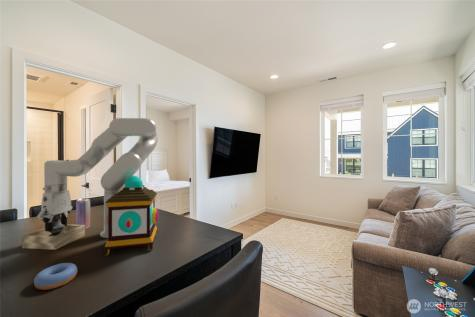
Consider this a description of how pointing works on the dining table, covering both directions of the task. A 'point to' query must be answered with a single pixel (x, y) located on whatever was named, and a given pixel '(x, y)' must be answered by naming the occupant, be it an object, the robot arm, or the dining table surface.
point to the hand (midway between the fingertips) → (56, 228)
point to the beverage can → (83, 212)
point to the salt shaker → (57, 226)
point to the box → (52, 238)
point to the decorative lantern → (131, 216)
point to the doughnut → (55, 276)
